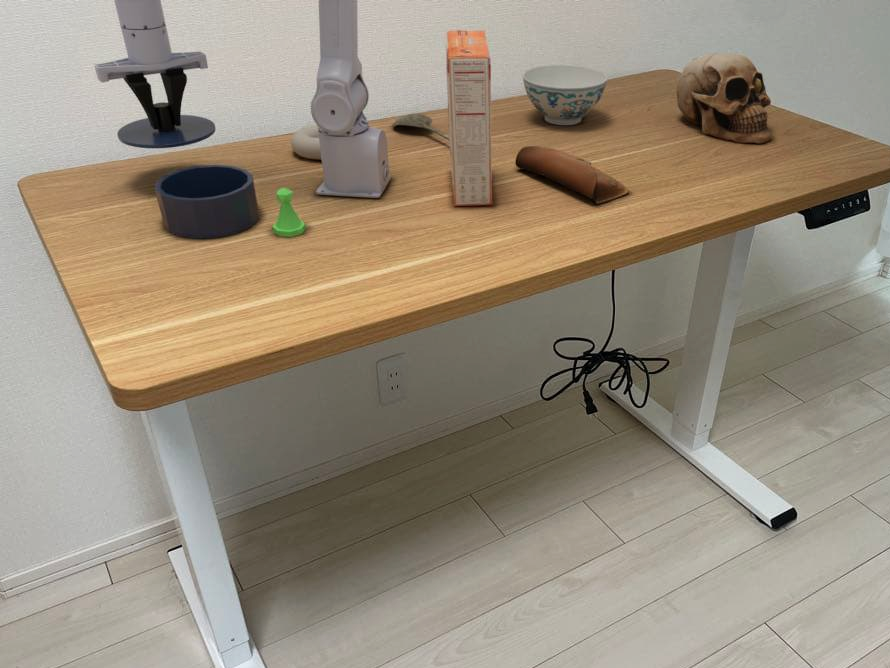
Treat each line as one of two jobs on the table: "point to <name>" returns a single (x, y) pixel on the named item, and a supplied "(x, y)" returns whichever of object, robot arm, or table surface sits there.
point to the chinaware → (564, 91)
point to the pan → (207, 201)
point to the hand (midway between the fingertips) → (166, 125)
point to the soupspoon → (418, 123)
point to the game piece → (287, 216)
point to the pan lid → (166, 130)
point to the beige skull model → (725, 97)
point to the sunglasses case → (570, 172)
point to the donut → (307, 142)
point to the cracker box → (469, 116)
